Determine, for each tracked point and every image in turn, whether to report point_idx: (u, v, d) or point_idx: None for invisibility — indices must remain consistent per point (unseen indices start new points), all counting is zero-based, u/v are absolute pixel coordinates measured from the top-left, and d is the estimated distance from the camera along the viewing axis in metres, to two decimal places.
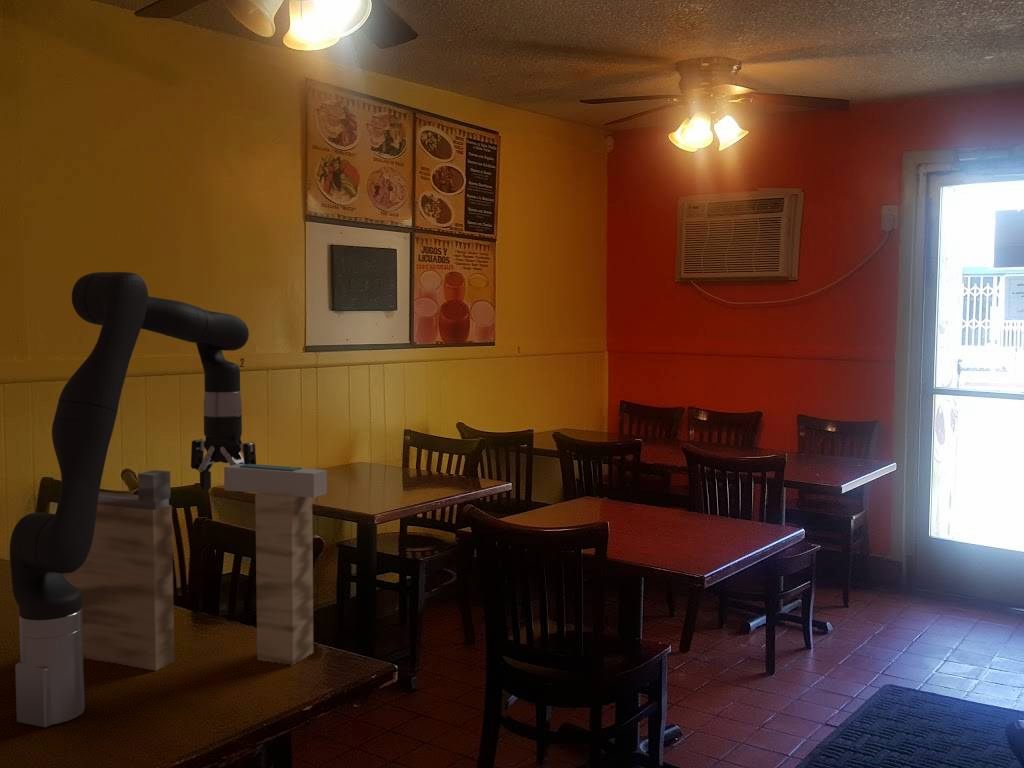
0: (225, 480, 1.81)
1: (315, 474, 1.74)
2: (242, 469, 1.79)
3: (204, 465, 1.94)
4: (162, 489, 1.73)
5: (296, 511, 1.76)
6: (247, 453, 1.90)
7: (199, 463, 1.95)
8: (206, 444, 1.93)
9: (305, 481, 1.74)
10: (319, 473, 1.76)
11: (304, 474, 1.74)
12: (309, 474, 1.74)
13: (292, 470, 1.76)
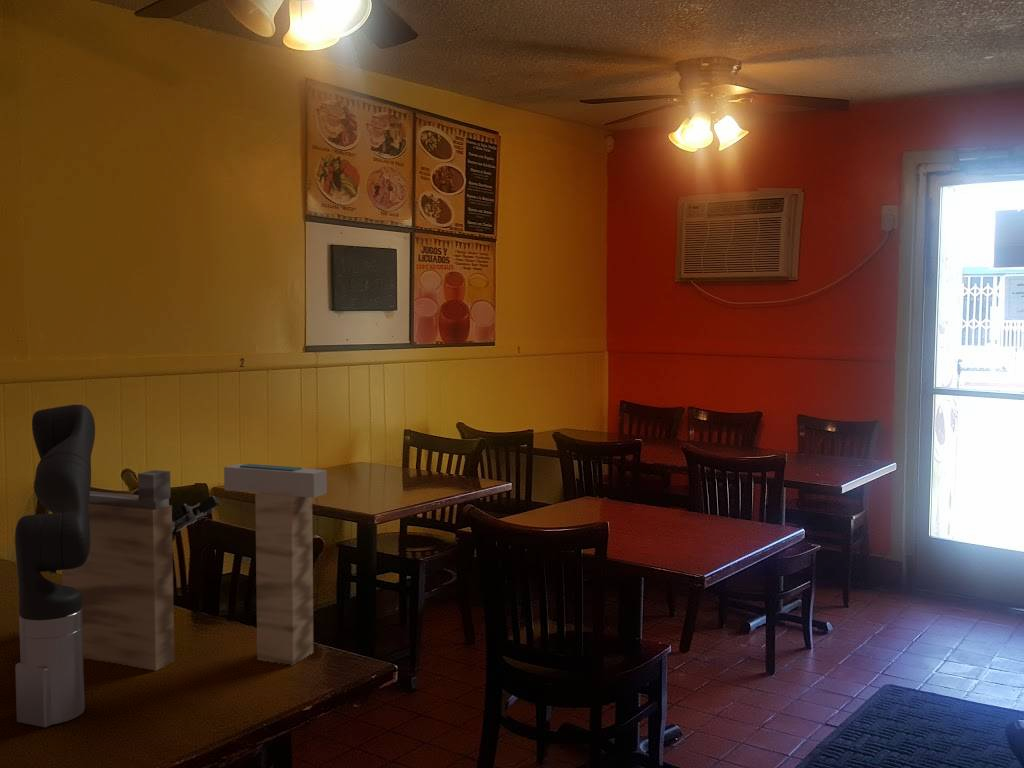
0: (225, 480, 1.81)
1: (315, 474, 1.74)
2: (242, 469, 1.79)
3: None
4: (162, 489, 1.73)
5: (296, 511, 1.76)
6: None
7: None
8: None
9: (305, 481, 1.74)
10: (319, 473, 1.76)
11: (304, 474, 1.74)
12: (309, 474, 1.74)
13: (292, 470, 1.76)
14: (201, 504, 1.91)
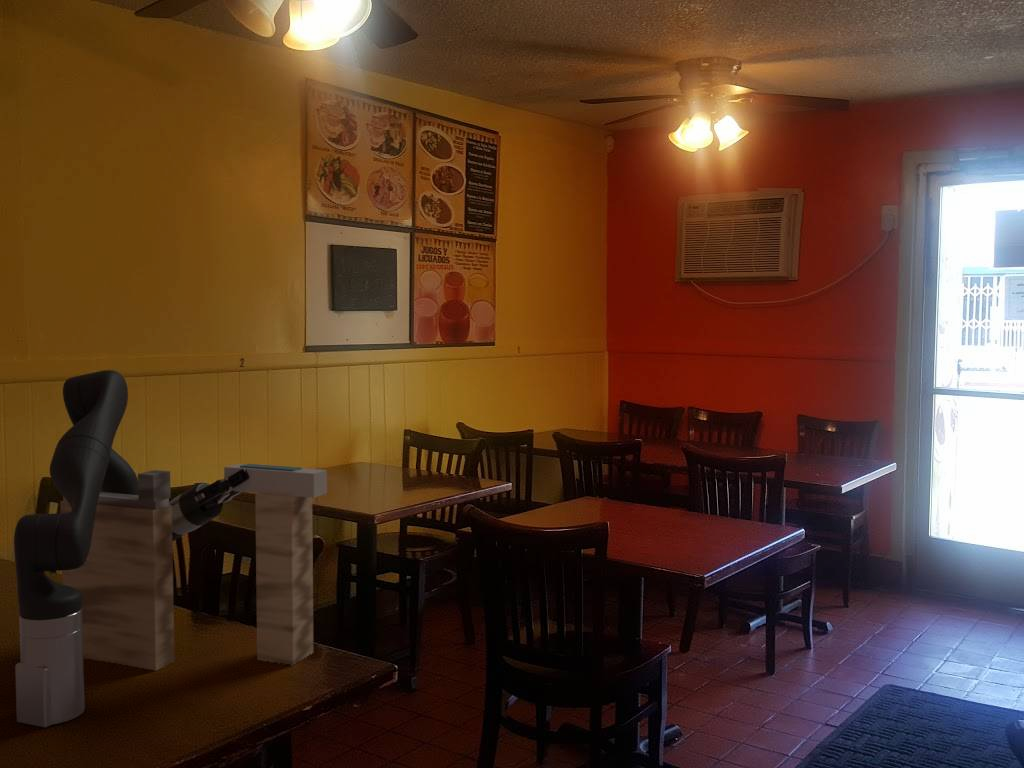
0: None
1: (315, 474, 1.74)
2: None
3: None
4: (162, 489, 1.73)
5: (296, 511, 1.76)
6: None
7: None
8: None
9: (305, 481, 1.74)
10: (319, 473, 1.76)
11: (304, 474, 1.74)
12: (309, 474, 1.74)
13: (292, 470, 1.76)
14: None
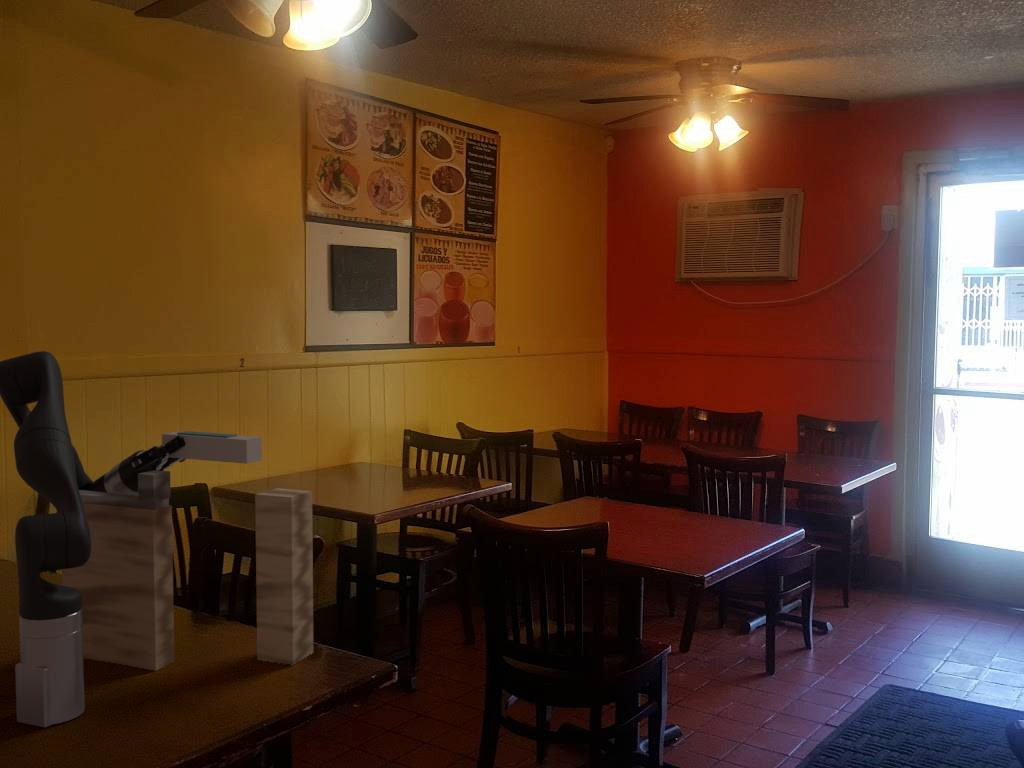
0: None
1: (248, 440, 1.76)
2: None
3: None
4: (162, 489, 1.73)
5: (296, 511, 1.76)
6: None
7: None
8: None
9: (238, 447, 1.76)
10: (253, 440, 1.77)
11: (237, 440, 1.76)
12: (242, 440, 1.76)
13: (227, 437, 1.78)
14: None
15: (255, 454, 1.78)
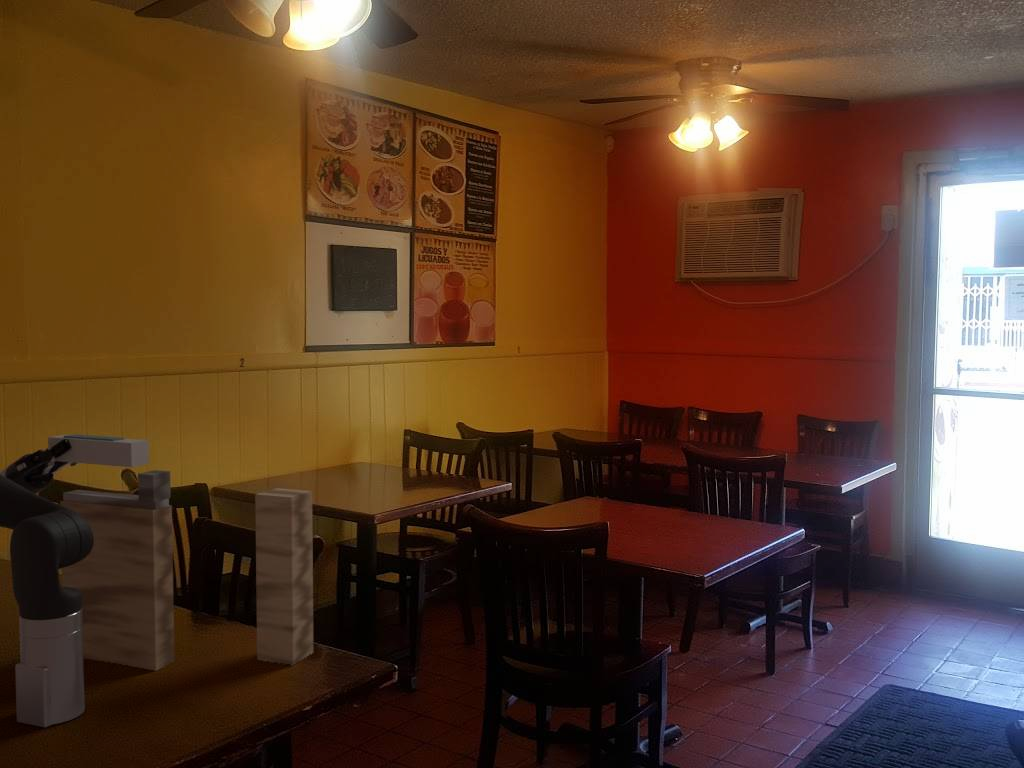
0: None
1: (133, 443, 1.73)
2: None
3: None
4: (162, 489, 1.73)
5: (296, 511, 1.76)
6: None
7: None
8: None
9: (123, 450, 1.73)
10: (139, 443, 1.74)
11: (122, 443, 1.73)
12: (127, 443, 1.73)
13: (112, 440, 1.75)
14: None
15: (141, 457, 1.75)
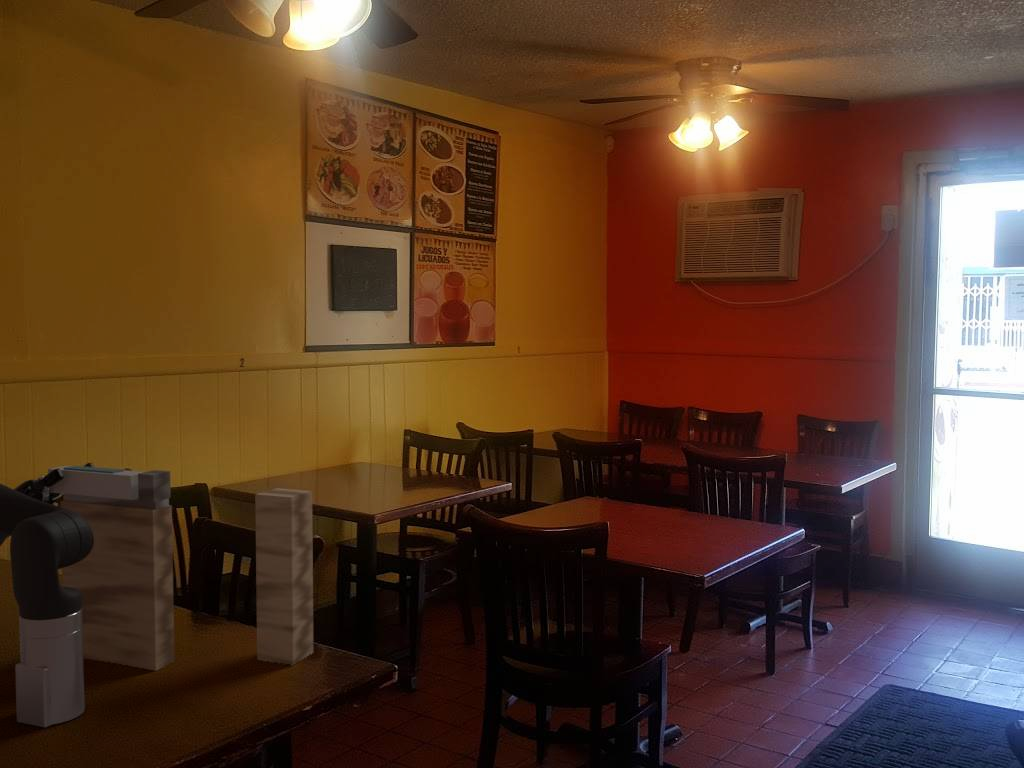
0: None
1: (133, 476, 1.73)
2: (65, 471, 1.78)
3: None
4: (162, 489, 1.73)
5: (296, 511, 1.76)
6: None
7: None
8: None
9: (122, 483, 1.74)
10: None
11: (122, 476, 1.74)
12: (126, 476, 1.73)
13: (112, 472, 1.75)
14: None
15: None
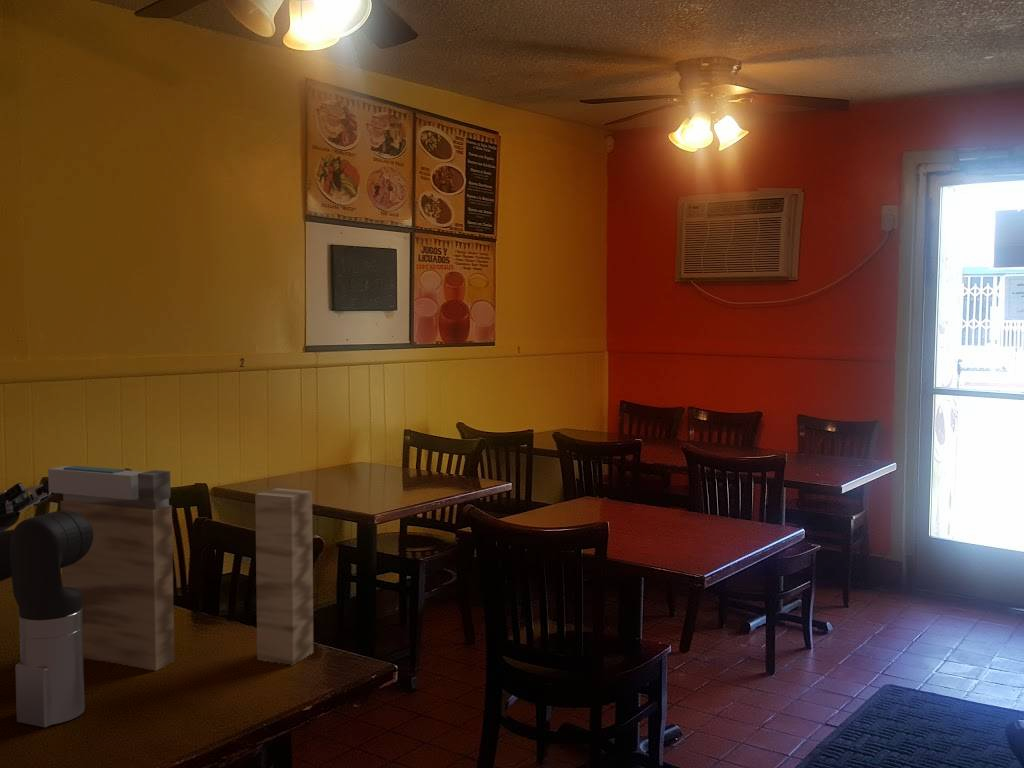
0: (49, 482, 1.80)
1: (133, 476, 1.73)
2: (65, 471, 1.78)
3: None
4: (162, 489, 1.73)
5: (296, 511, 1.76)
6: None
7: None
8: None
9: (122, 483, 1.74)
10: None
11: (122, 476, 1.74)
12: (126, 476, 1.73)
13: (112, 472, 1.75)
14: (44, 484, 1.89)
15: None
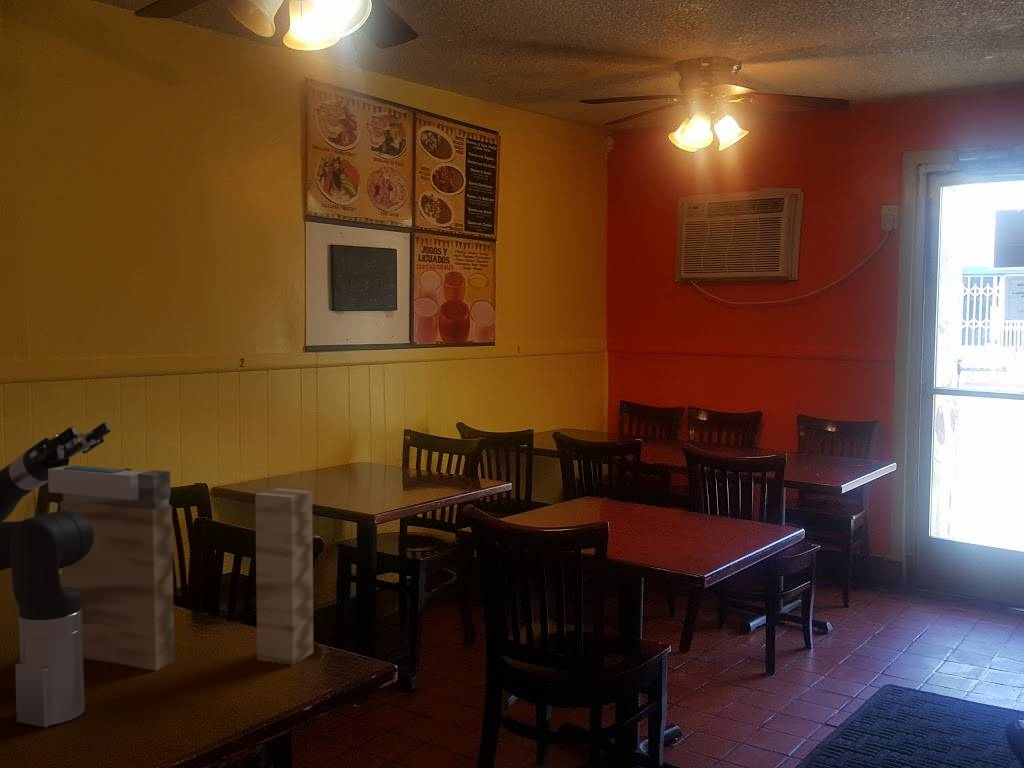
0: (49, 482, 1.80)
1: (133, 476, 1.73)
2: (65, 471, 1.78)
3: None
4: (162, 489, 1.73)
5: (296, 511, 1.76)
6: None
7: None
8: None
9: (122, 483, 1.74)
10: None
11: (122, 476, 1.74)
12: (126, 476, 1.73)
13: (112, 472, 1.75)
14: (93, 431, 1.91)
15: None
